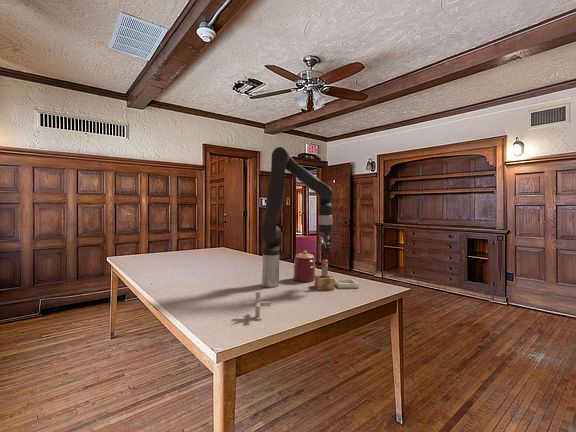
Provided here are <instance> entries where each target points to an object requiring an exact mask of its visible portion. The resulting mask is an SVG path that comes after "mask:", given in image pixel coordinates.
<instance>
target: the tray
mask: <svg viewBox="0 0 576 432" xmlns="http://www.w3.org/2000/svg"><path fill="white" fill-rule="evenodd" d="M335 287H337V288H338V289H341V290H342V289H343V290H344V289H345V290H347V289H359V287H360V285H359V282H357V281H356V280H354V279H353V278H335Z"/></svg>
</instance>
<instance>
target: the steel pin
mask: <svg viewBox="0 0 576 432" xmlns="http://www.w3.org/2000/svg"><path fill="white" fill-rule="evenodd" d="M328 273H329V260H328V259H322V260H321V275H322V278H328V275H329V274H328Z"/></svg>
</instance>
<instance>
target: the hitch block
mask: <svg viewBox="0 0 576 432" xmlns="http://www.w3.org/2000/svg"><path fill="white" fill-rule="evenodd" d="M335 279H336V278H335V277H334V276H332V275H331V274H328V278H322V274H315V280H314V287H315V288H316V289H317V290H318V291H335V290H336V285H335Z"/></svg>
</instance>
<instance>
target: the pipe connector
mask: <svg viewBox="0 0 576 432" xmlns="http://www.w3.org/2000/svg"><path fill="white" fill-rule="evenodd" d="M271 303H272V301H261V291H260V290H256V291H255V301H245V302H244V306H245V307H254V308H255V309H254V310H255V312H254V313H255V318H261V307H271Z"/></svg>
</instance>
